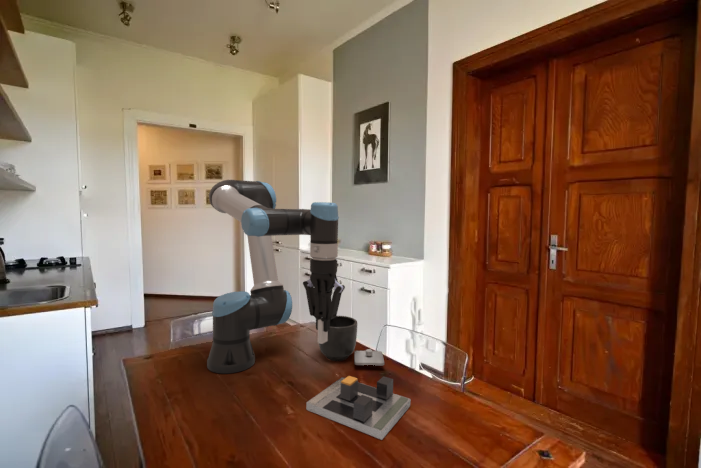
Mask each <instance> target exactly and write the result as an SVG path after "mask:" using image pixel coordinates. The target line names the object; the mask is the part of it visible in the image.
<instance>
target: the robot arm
mask: <svg viewBox="0 0 701 468" xmlns="http://www.w3.org/2000/svg"><path fill="white" fill-rule="evenodd" d="M208 200H209V204H210V206H211V207H212V208H213V209H215V211H217V212H219V213H222V214H228V215H229V216H231V217H232V218H233V219H235V220H236V221H238V222H239V223H241V229H242V231H243V234H245V235H246V236H247V237H246V238H247V241H248V242H247V243H248V251H249V257H250V258H249V259H250V264H251V272H252V279H253V281H252V282H253V285H252V288H251V289H250V290H249V291H250V292H248V291H243V290H241V291H232V292H231V291H230V292H226V293H224V294H221V295H219V296H218V297H216V298H215V299H214V301H213V303H212V313H211V315H212V344H211V348H210V351H209V355H208V357H207V359H206V360H207V361H206V367H207V370H209V371H210V372H212V373H215V374H216V373H217V374H235V373H238V372H239V373H240V372H242V371H245V370H248V369H250V368H251V367H252V366H254V364H255V363H256V362H255V361H256V355H255V352H254V348H253V345H252V343H251V342H252V341H251V340H250V338H251V337H250V333H251V332H250V331H252V330H256V329H257V330H258V329H264V328H268V327H273V326H278V325H280V324H285V323H286V322H288V320H289V319H290V317H291V316H292V315H291V314H292V312H293V299H292V295H291V293H290V292H289V291H288V290H284V284H282V283H281V282H280V281H279V278H278V272H277V265H276V259H275V257H276V256H275V252H274V251H275V250H274V245H273V244H274V243H273V238H272V237H273V236H309V238H310V240H309V241H310V250H309V251H310V253H309V254H310V255H309V257H311V258H310V260H309V271H310V276H309V279H307V280H304V281H303V282H302V285H303V287H304V289H305V293H306V294H305V295H306V300H307V305H308V311H309V315H310V316H311V317H314V318H315V329H316V331H317V344H319V343H320V344H323V343H325V342H327V341H328V331H329V330H330V320H331V319H333V318H335V317H336V316H338V310H339V306H340V304H341V303H340V301H341V298H342V293H343V292H344V291H345V289H346V286H345V285H344V284H341V283H340V282H338V280H339V279H338V277H337V272H338V259H337V258H338V254H339V252H338V251H339V249H338V248H339V246H338V245H339V243H338V239H339V218H340V217H339V206H338V204H337V203H335V202H327V201H326V202H323V201H321V202H320V201H317V202H316V201H315V202H312V203H311V205H310V209H307V208H276V207H277V204H276V203H277V195H276V191H275V189H274V188H273V186H272V185H271V184H269V183H268V182H262V181H259V180H256V181H253V180H241V179H237V180H236V179H226V180H221V181H219V182H217V183H216V184H214V185H213V186H212V187H211V188H210V191H209V193H208Z"/></svg>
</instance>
